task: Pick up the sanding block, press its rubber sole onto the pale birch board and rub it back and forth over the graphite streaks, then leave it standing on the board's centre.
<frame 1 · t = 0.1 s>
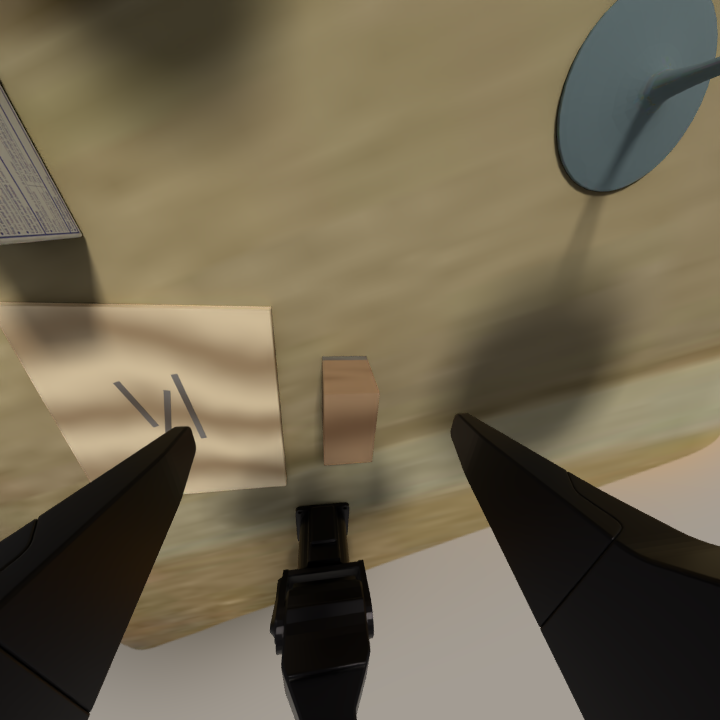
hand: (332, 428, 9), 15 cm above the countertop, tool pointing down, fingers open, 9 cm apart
sanding block: (343, 388, 26), on the countertop
cocktail glass: (628, 100, 19), on the countertop
medicine box: (11, 167, 16), on the countertop
birch board: (178, 412, 25), on the countertop
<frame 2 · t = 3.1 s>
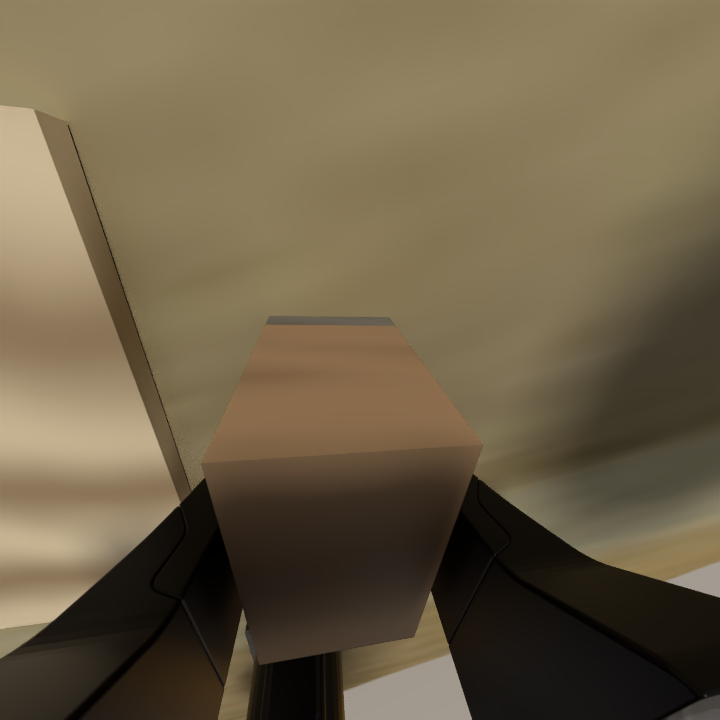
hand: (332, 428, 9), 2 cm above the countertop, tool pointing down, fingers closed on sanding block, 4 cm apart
sanding block: (330, 402, 11), on the countertop, touching gripper
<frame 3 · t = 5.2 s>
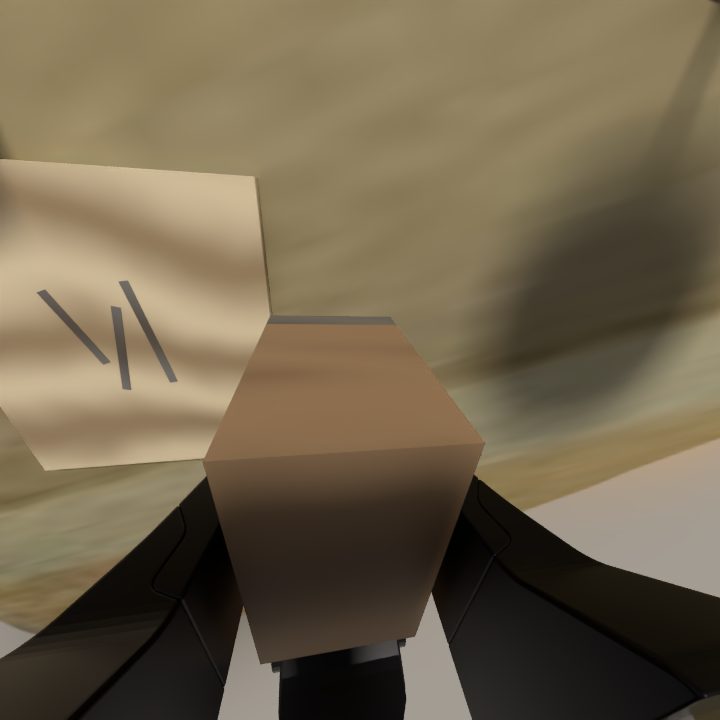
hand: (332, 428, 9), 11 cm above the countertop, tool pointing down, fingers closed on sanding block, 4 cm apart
sanding block: (331, 401, 11), point 10 cm above the countertop, touching gripper
birch board: (137, 345, 18), on the countertop
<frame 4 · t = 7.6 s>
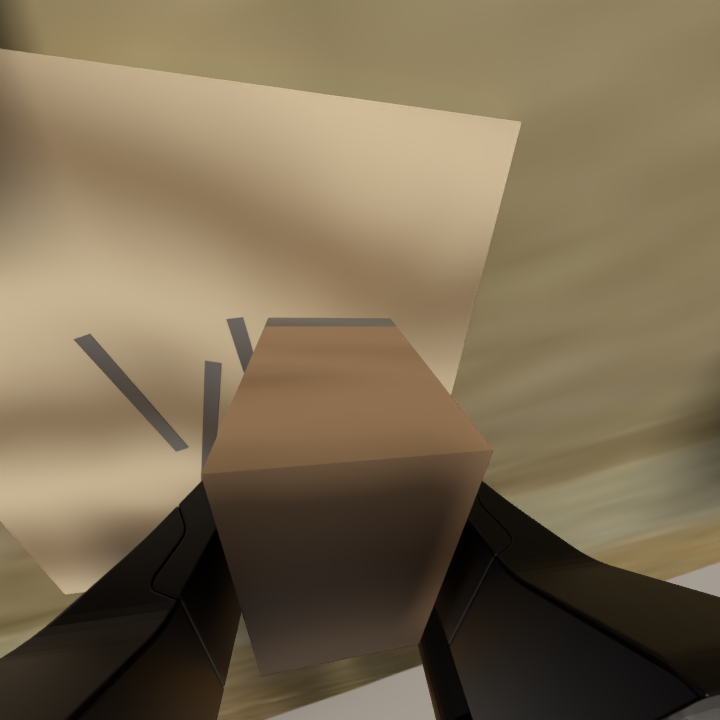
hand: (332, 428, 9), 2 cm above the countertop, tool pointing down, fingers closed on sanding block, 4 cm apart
sanding block: (330, 404, 11), point 1 cm above the countertop, touching birch board, gripper
birch board: (229, 416, 11), on the countertop
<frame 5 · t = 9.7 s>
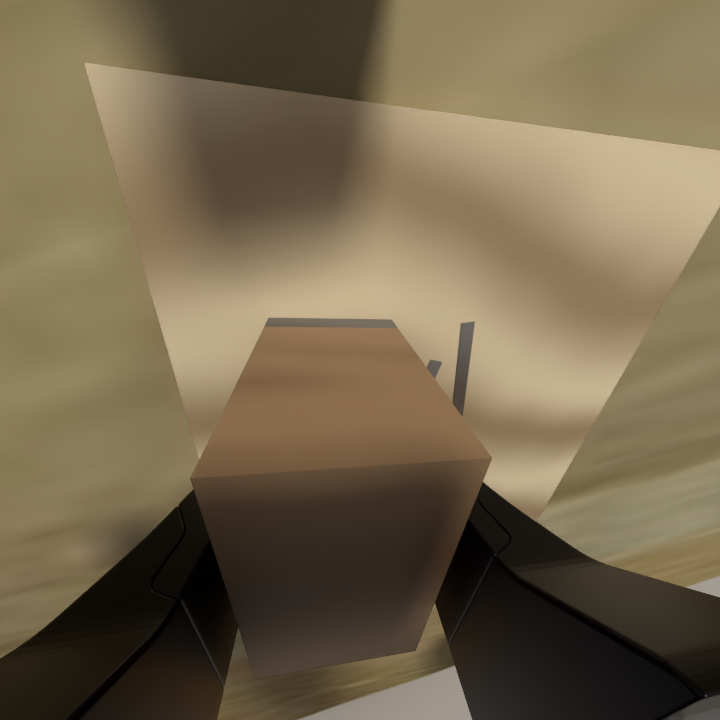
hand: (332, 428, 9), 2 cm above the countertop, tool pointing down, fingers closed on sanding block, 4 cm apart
sanding block: (330, 405, 10), point 1 cm above the countertop, touching birch board, gripper
birch board: (414, 410, 12), on the countertop
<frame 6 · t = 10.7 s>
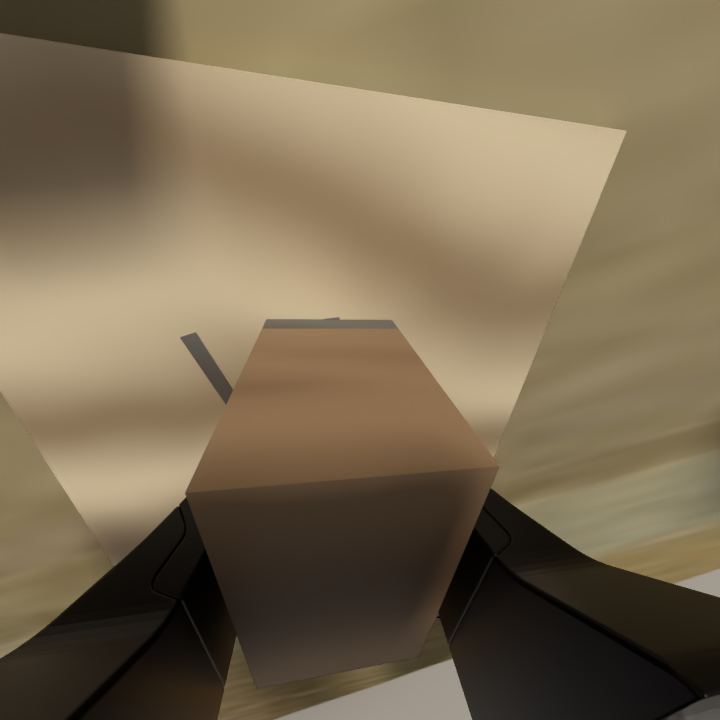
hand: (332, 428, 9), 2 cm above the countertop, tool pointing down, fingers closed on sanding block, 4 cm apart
sanding block: (330, 407, 10), point 1 cm above the countertop, touching gripper
birch board: (304, 413, 11), on the countertop
when the fingers open (2 cm above the countertop, at t = 13.1 s): sanding block stays where it is, resting on birch board.
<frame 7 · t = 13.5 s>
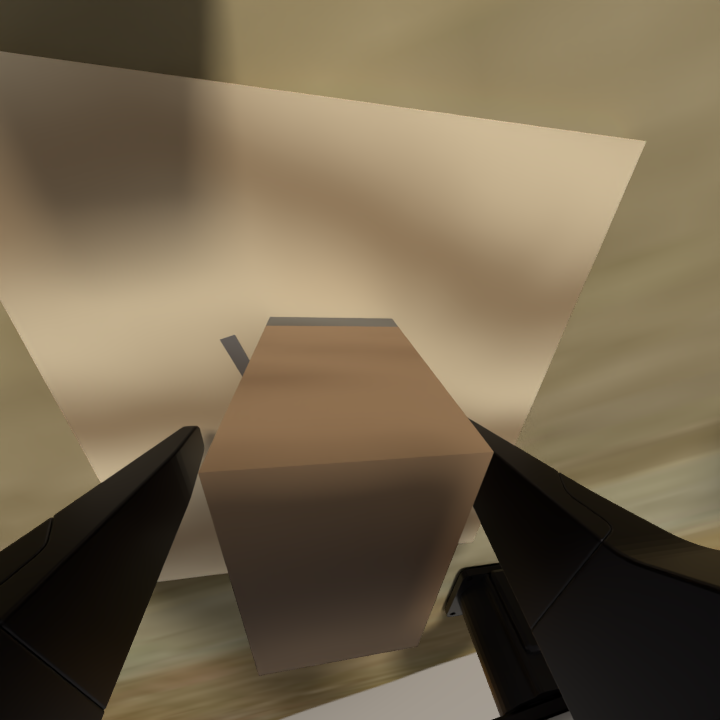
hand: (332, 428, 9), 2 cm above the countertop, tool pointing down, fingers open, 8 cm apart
sanding block: (331, 404, 10), point 1 cm above the countertop, touching birch board
birch board: (329, 412, 12), on the countertop
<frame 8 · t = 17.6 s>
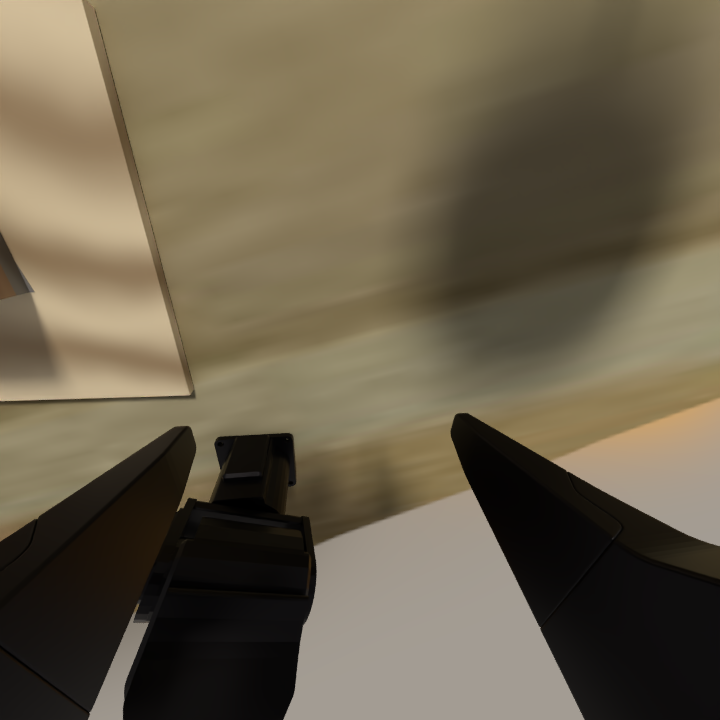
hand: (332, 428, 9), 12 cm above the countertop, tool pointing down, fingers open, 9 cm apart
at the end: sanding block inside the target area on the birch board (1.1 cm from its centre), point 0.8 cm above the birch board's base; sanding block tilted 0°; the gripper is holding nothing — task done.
